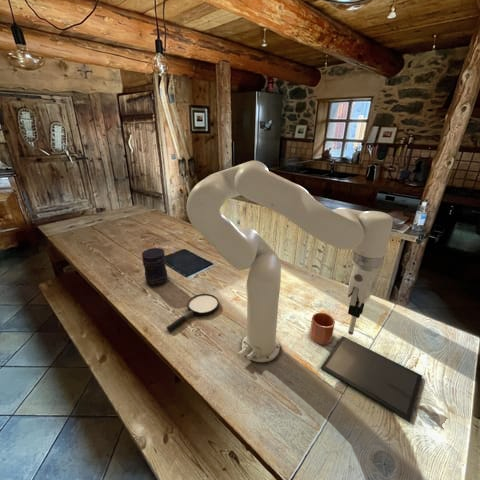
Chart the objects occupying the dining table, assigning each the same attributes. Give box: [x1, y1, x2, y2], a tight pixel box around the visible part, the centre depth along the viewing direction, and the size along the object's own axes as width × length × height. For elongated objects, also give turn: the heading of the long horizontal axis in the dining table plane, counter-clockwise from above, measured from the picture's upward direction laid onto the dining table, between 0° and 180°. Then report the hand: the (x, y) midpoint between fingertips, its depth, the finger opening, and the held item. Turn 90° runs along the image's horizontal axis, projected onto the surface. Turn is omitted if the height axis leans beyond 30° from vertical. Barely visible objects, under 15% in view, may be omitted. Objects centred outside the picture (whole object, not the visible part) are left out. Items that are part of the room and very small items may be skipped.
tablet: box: [320, 335, 423, 422], centre depth 80 cm, size 17×24×1 cm
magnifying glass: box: [166, 293, 220, 333], centre depth 104 cm, size 12×24×2 cm, turn 143°
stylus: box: [347, 300, 359, 336], centre depth 78 cm, size 1×1×13 cm
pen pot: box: [309, 312, 336, 345], centre depth 92 cm, size 7×8×8 cm
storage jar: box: [141, 247, 168, 288], centre depth 122 cm, size 10×10×15 cm
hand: (354, 313), depth 78 cm, fingers closed on stylus, 1 cm apart
